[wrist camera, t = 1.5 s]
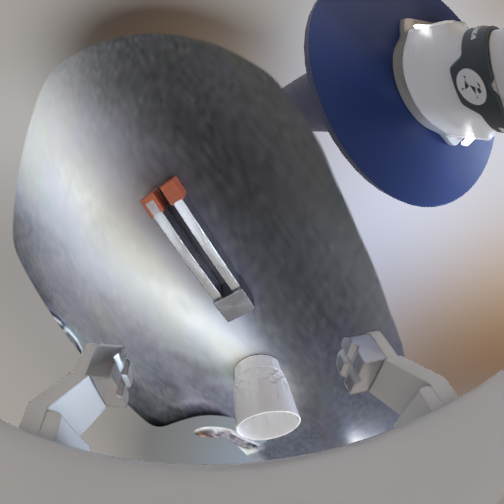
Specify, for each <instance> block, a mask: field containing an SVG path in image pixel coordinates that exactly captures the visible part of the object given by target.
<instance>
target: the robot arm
mask: <svg viewBox="0 0 504 504" xmlns="http://www.w3.org/2000/svg"><path fill="white" fill-rule="evenodd" d="M399 29H400V37H399V40H398V41H397V43H396V46H395V48H394V52H393V73H394V78H395V82H396V85H397V88H398V91H399V93H400V95H401V98H402V100H403V102H404V103H405V105H406V107H407V108H408V110H409V111H410V113H411V114H412V115H413V116H414V118H415V119H416V120H417V121H418V122H419V123H421V124H422V125H423V126H424V127H426V128H428V129H430V130H432V131H434V132H436V133H438V134H439V135H440V136H441V137H442V138H443V139H444V141H445V142H446V143H447V144H449V145H454V146H455V145H457V144H458V143H459V142H460V141H461V140H462V139H463V138H466V139H465V140H464V141H463V142H461V143H462V145H466V146H468V145H469V144H470V143H471V142H472V141H473V140H474V139H479V140H491V138H492V137H493V136H494V135H495V134H496V132H501V133H504V29H499V28H497V27H494V26H478V27H476V28H471V29H468V27H467V25H466V23H465V22H461V21H457V22H456V21H455V20H446V21H441V22H436V23H431V22H427V21H422V20H416V19H410V18H405V19H401V20H400V24H399ZM341 344H342V346H343V348H342V349H341V350H340V351H339V352H338V356H337V368H338V371H339V373H340V374H341V375H342V376H344V377H346V378H345V381H344V383H345V385H346V387H347V389H348V391H349V393H350V395H351V394H355V393H360V392H364V391H368V392H370V393H371V394H372V395H374V396H375V397H376V398H378V399H379V400H380V401H382V402H383V403H384V404H386V405H387V406H389V407H390V408H391V409H393V410H394V411H395V412H397V413H398V414H399V415H400V416H399V418H398V419H397V420H396V421H395V423H394V425H393V426H394V428H395V429H392V430H389V431H387V432H384V433H381V434H378V435H376V436H373V437H370V438H367V439H364V440H360V441H357V442H354V443H351V444H347V445H343V446H340V447H336V448H332V449H328V450H324V451H319V452H315V453H310V454H305V455H300V456H295V457H289V458H282V459H275V460H268V461H259V462H249V463H235V464H173V463H158V462H149V461H141V460H133V459H126V458H120V457H114V456H108V455H104V454H99V453H95V452H90V451H89V449H90V448H89V446H88V445H87V444H86V442H85V441H84V440H83V439H82V438H81V437H80V436H81V435H82V433H83V432H84V431H85V430H86V429H87V428H88V427H89V426H90V425H91V424H92V423H93V422H94V421H95V419H96V418H97V417H98V416H99V415H100V414H101V413H102V412H103V410H105V408H106V406H109V407H119V408H127V405H128V400H129V396H130V394H129V392H128V390H127V389H128V388H129V387H130V386H131V385H132V381H133V369H132V365H131V362H130V361H129V360H128V359H126V357H127V354H128V353H127V351H126V348H125V347H124V346H118V345H108V344H97V343H89V342H88V343H87V344H86V345H85V346H84V349H83V351H82V353H81V356H80V358H79V360H78V362H77V364H76V367H75V369H74V372H73V373H68V374H67V375H65V376H64V377H63V378H61V379H60V380H59V381H57V382H56V383H55V384H53V385H52V386H50V387H49V388H48V389H46V390H45V391H44V392H42V393H41V394H39V395H38V396H37V397H35V398H34V399H33V400H31V401H30V402H29V403H28V406H27V408H26V411H25V413H24V416H23V418H22V421H21V423H20V426H19V428H18V427H16V426H13V425H11V424H9V423H6V422H5V421H3V420H0V504H504V369H502V370H501V371H499V372H498V373H497V374H495V375H494V376H492V377H491V378H490V379H488V380H486V381H485V382H484V383H482V384H481V385H479V386H477V387H476V388H474V389H473V390H471V391H469V392H468V393H466V394H464V395H463V396H461V397H458V395H457V394H456V392H455V391H454V390H453V388H452V387H451V385H450V384H449V383H448V382H447V381H446V379H445V378H444V377H443V376H441V375H439V374H437V373H435V372H433V371H431V370H429V369H427V368H425V367H423V366H421V365H419V364H417V363H415V362H413V361H411V360H409V359H407V358H405V357H403V356H398V355H397V354H396V353H395V351H394V350H393V348H392V347H391V346H390V344H389V343H388V342H387V340H386V339H385V337H384V336H383V335H382V333H381V332H379V331H373V332H368V333H363V334H357V335H351V336H345V337H344V338H343V340H342V343H341Z"/></svg>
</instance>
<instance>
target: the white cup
mask: <svg viewBox="0 0 504 504" xmlns="http://www.w3.org/2000/svg"><path fill="white" fill-rule="evenodd" d="M234 409H235V424H236V432H237V434H238V435H239V436H241V437H243V438H246V439H251V440H267V439H273V438H277V437H280V436H283V435H286V434H288V433H290V432H291V431H293V430H294V429H295V428H297V427H298V425H299V424H300V421H301V419H300V416H299V413H298V410H297V407H296V405H295V402H294V399H293V396H292V393H291V391H290V389H289V386H288V383H287V381H286V378H285V376H284V375H283V372H282V369H281V367H280V364H279V362H278V360H277V359H275V358H273V357H271V356H268V355H261V354H260V355H254V356H249V357H247V358H245V359H243V360H241V361H240V362H239V363H238V364H237V365H236V366H235V368H234Z"/></svg>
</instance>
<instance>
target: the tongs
mask: <svg viewBox="0 0 504 504" xmlns="http://www.w3.org/2000/svg"><path fill="white" fill-rule="evenodd" d="M160 189H161V191H162V192H163V194H164V195H165V197H166V199H167V200H168V202H169V203H170V205H171V206H172V205H174V207H175V208H176V210H177V211H178V213H179V214H180V216H181V217H182V219H183V220H184V222H185V223H186V225H187V226H188V228H189V229H190V231H191V232H192V234H193V235H194V237H195V238H196V240H197V241H198V243H199V244H200V246H201V247H202V249H203V250H204V251H205V253H206V254H207V256H208V257H209V259H210V260H211V262H212V263H213V265H214V266H215V267H216V269H217V270H218V272H219V273H220V275H221V276H222V277H223V279H224V280H225V282H226V283H224V284H222V285H221V284H220V282H219V281H218V280H217V278H216V277H215V275H214V274H213V273H212V271H211V270H210V268H209V267H208V266H207V264H206V263H205V261H204V260H203V258H202V257H201V256H200V254H199V253H198V251H197V250H196V248H195V247H194V246H193V244H192V243H191V241H190V240H189V238H188V237H187V235H186V234H185V232H184V231H183V229H182V228H181V226H180V225H179V223H178V222H177V221H176V219H175V218H174V216H173V215H172V213H171V212H170V210H169V208H168V207H167V205H168V203H167V202H166V200H165V199H164V197H163V196H162V194H161V193H160V191H159V190H158V188H156V189H154V190H153V191H151V192H150V193H149V194H147V195H146V196H145V197H144V198H143V199H142V200H141V203H142V205H143V206H144V208H145V209H146V211H147V212H148V213H149V215H150V216H151V218H154V219H155V220H156V222H157V223H158V225H159V226H160V227H161V229H162V230H163V232H164V233H165V235H166V236H167V238H168V239H169V240H170V242H171V243H172V245H173V246H174V247H175V249H176V250H177V252H178V253H179V254H180V256H181V257H182V259H183V260H184V261H185V263H186V264H187V265H188V267H189V268H190V270H191V271H192V272H193V274H194V275H195V276H196V278H197V279H198V280H199V282H200V283H201V284H202V286H203V287H204V288H205V290H206V291H207V292H208V293H209V295H210V296H211V297H212V299H213V303H214V305H215V306H216V307H217V309H218V310H219V311H220V312H221V314H222V315H223V316H224V317H225V319H226V320H227V321H228V322H230V321H232V320H234V319H236V318H238V317H240V316H242V315H244V314H246V313H248V312H250V311H252V310H254V309H255V304H254V300H253V296H252V293H251V292H250V290H249V289H248V287H247V286H246V284H245V283H244V281H243V280H242V278H241V277H240V276H238V274H237V272H236V271H235V269H234V268H233V266H232V265H231V263H230V262H229V260H228V259H227V257H226V256H225V254H224V253H223V251H222V250H221V248H220V247H219V245H218V244H217V242H216V241H215V239H214V238H213V236H212V235H211V233H210V232H209V230H208V228H207V227H206V225H205V224H204V222H203V221H202V219H201V218H200V216H199V215H198V213H197V211H196V210H195V208H194V207H193V205H192V204H191V202H190V200H189V199H188V197H187V196H186V193H187V192H186V190H185V189H184V187H183V186H182V184H181V182H180V181H179V179H178V178H177V176H174V177H173V178H171V179H170V180H168V181H166V182H165V183H164V184H163V185H162V186H161V187H160Z"/></svg>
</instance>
